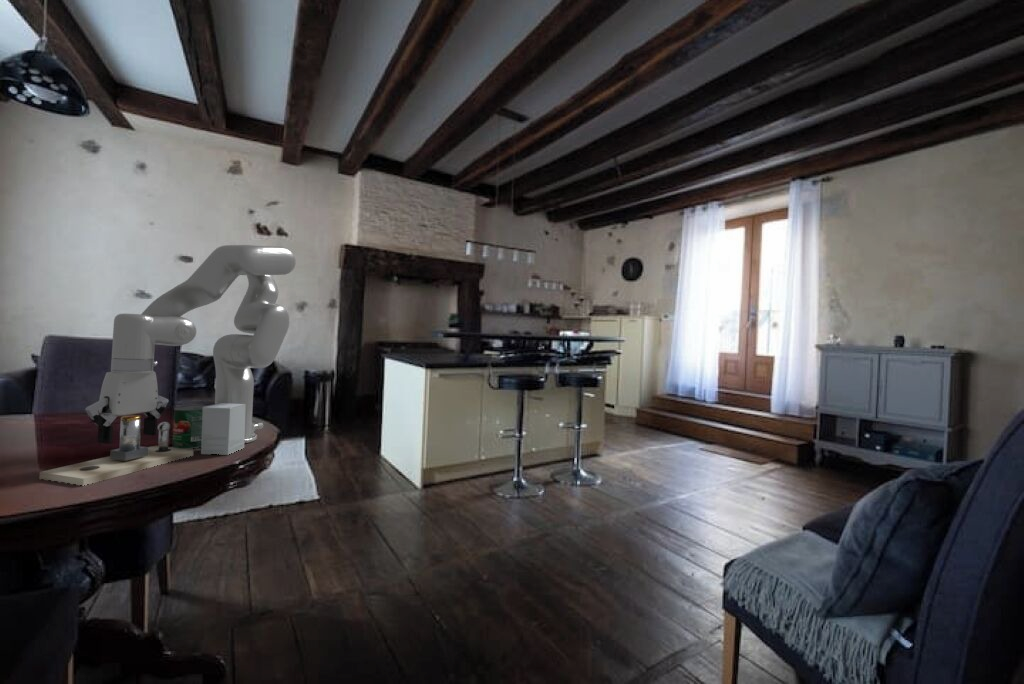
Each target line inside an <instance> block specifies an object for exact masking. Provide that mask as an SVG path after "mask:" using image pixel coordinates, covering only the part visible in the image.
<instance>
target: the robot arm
mask: <svg viewBox="0 0 1024 684" xmlns="http://www.w3.org/2000/svg"><path fill="white" fill-rule="evenodd" d="M295 266H296V257H295V255H294V253H293V252H292V251H291V250H290V249H288V248H287V247H284V246H270V245H269V246H268V245H267V246H265V245H253V244H252V245H250V244H234V245H233V244H229V245H227V244H226V245H221V246H218V247H216V248H215V249H214V250H213V251H212V252H211V253H210V254H209V255H208V257H206V259H205V260H204V261H203V262H202V263H201V264H200V266H198V268H196V269H195V271H194V272H193V273H192V274H191V275H190V277H188V278H187V280H184V281H183V282H181V283H180V284H177V285H176V286H175V287H173V288H172V289H169V290H168V291H166V292H165V293H163V294H161V295H160V296H159V297H157V298H156V299H154V300H153V301H152V302H151V303H150V304H149V305H148V306H147V307H146V308H145V309H144V311H142V313H141V314H140V313H139V314H138V313H118V314H117V315H116V316H114V319H113V331H112V347H111V362H110V371H108V372H107V371H106V373H105V374H104V375H105V376H104V379H103V380H102V381H103V382H102V385H101V390H100V393H99V398H98V399H99V400H98V401H95V402H94V403H92V404H90V405H88V406H86V407H85V412H86V414H87V416H88V419H89V420H91V422H93V423H94V425H96V426H97V427H98V428H97V442H98V443H99V444H108V445H109V444H112V443H113V435H114V426H113V425H111V424H112V423H113V422H114V421H116V418H117V417H123V416H131V415H139V414H144V415H145V416H146V417H144V419H143V428H142V429H143V431H142V433H143V435H147V436H156V434H157V430H158V419H160V418H161V414H163V413H164V412H165V410H166V407H167V406H168V403H169V399H168V398H166V397H164V396H161V395H159V389H158V387H159V386H158V380H157V379H158V377H157V374H156V371H154V367H157V365H158V361H157V360H155V349H156V348H155V346H156V345H160V346H171V347H179V346H180V347H181V346H184V345H187V344H189V343H190V342H192V341H193V340H194V339H195V338H196V335H197V328H196V325H195V324H194V323H193V322H192V321H191V320H190V319H187V318H185V317H183V315H185V314H187V313H189V312H190V311H193V310H196V309H198V308H201V307H204V306H207V305H210V304H213V303H214V302H217V301H218V300H220V299H221V298H222V297H223V295H224V294H225V292H226V291H227V290H228V289H229V288H230V287H231V285H233V284H234V282H235V280H236V279H237V278H238V277H240V276H247V281H248V287H247V290H246V292H245V294H244V296H243V298H242V300H241V303H240V304H239V307H238V309H237V311H236V313H235V316H234V317H233V318H234V319H233V324H234V327H235V328H236V329H237V330H238V331H239V332H242V333H245V334H239V333H238V334H237V333H235V334H233V333H231V334H226V335H223V336H221V337H220V338H218V339H217V340H216V341H215V343H214V345H213V348H212V354H213V355H212V356H213V357H212V358H213V362H214V368H215V391H214V392H215V393H214V394H215V396H214V404H219V403H229V404H246V407H245V437H244V444H248V443H252V442H254V441H256V440H257V439H258V434H256V433H255V432H256V430H260V429H263V428H264V423H263V422H257V423H255V422H253V407H254V404H253V403H254V386H255V384H254V383H255V381H254V379H255V378H254V375H253V372H252V369H264V368H268V367H269V366H270V365H271V364H272V363H274V361H275V360H276V358H277V356H278V353H279V352H280V349H281V346H282V345H283V342H284V340H285V337H286V334H287V333H288V330H289V327H290V315H289V312H288V310H287V309H286V308H285V307H284V306H282V305H280V304H277V303H276V302H277V299H278V296H279V289H278V286H277V283H276V280H275V278H274V276H280V275H283V276H284V275H288V274H290V273H291V272H292V271H293V270H294V269H295ZM252 334H253V335H252Z"/></svg>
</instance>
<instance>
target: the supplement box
mask: <svg viewBox="0 0 1024 684" xmlns="http://www.w3.org/2000/svg"><path fill="white" fill-rule="evenodd" d="M245 407H246V404H229V403H219V404H215V403H214V404H210V405H208V406H206V407H203V408H202V440H201V449H200V455H211V454H217V455H216V456H218V454H219V456H229V454H230V455H232V454H234V452H235V453H237V452H239V451H242V450H243V448H244V449H245V443H244V437H245ZM241 449H242V450H241ZM238 450H239V451H238ZM236 451H237V452H236ZM231 453H232V454H231Z"/></svg>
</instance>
